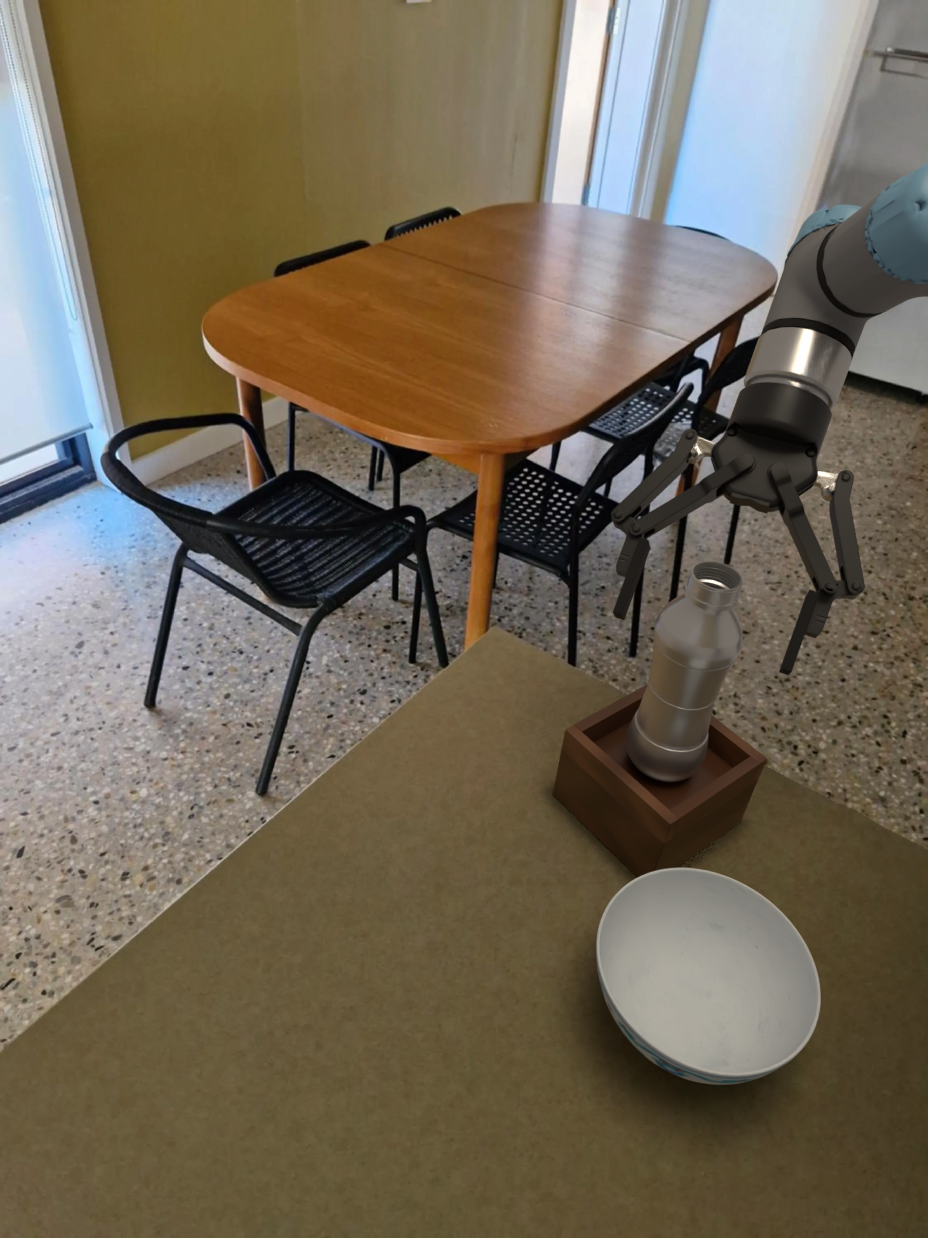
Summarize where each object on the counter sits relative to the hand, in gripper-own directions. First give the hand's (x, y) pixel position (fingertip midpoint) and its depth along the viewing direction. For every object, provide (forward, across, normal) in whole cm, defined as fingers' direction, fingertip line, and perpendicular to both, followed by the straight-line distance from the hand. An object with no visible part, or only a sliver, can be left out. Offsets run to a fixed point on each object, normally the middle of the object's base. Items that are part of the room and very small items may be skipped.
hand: (699, 644), depth 71 cm
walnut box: (+14, 0, -10) cm, 18 cm away
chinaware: (+27, -8, +2) cm, 28 cm away
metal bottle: (+10, 0, -6) cm, 12 cm away
